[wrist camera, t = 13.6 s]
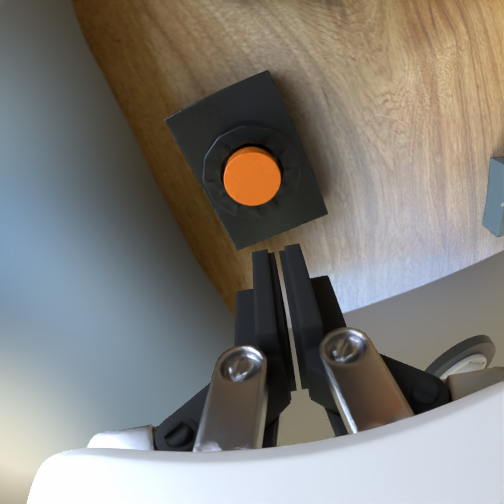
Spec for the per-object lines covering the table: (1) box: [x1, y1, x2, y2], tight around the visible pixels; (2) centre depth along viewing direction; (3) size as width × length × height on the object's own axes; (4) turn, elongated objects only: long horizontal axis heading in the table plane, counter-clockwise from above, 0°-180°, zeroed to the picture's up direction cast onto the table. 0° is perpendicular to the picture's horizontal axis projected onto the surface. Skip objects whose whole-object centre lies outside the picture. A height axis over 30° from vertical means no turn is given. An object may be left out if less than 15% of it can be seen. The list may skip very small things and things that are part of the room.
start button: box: [224, 147, 281, 206], centre depth 19 cm, size 4×4×2 cm
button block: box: [165, 70, 328, 250], centre depth 22 cm, size 12×8×4 cm, turn 25°
